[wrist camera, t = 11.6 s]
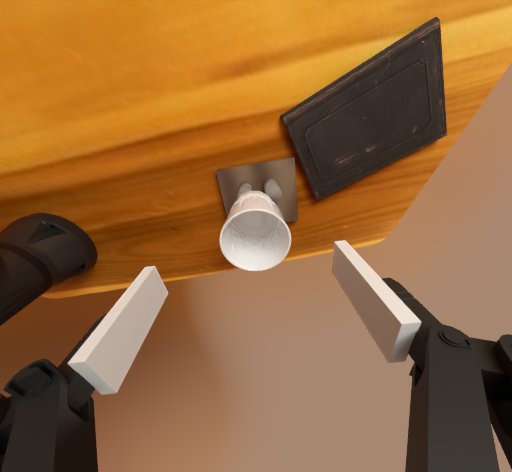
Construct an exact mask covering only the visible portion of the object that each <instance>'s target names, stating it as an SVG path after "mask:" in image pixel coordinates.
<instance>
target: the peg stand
mask: <svg viewBox="0 0 512 472" xmlns="http://www.w3.org/2000/svg"><path fill="white" fill-rule="evenodd" d="M216 174H217V178H218V182H219V186H220V190H221V194H222V198H223V202H224V207H225V211H226V215H227V216H228V214H229V212H230V210H231V208H232V206H233V205H234V202H235V201H236V200H237V199H238V197H239V196H240V195H241V194H244V193H246V192H248V191H261V192H263V193H265V194H267V195H269V196H270V198H271V199H272V201H273V202H274V203H275V204H276V206H277V208H278V209H279V211H280V213H281V215H282V217H283V219H284V220H285V222H286V223H287V222H293V221H298V212H297V193H296V174H295V158H294V157H290V158H284V159H278V160H272V161H266V162H260V163H254V164H248V165H242V166H236V167H230V168H224V169H218V170H216Z"/></svg>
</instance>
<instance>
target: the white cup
mask: <svg viewBox="0 0 512 472" xmlns="http://www.w3.org/2000/svg"><path fill="white" fill-rule="evenodd" d="M219 241H220V248H221V251H222V253H223V255H224V256H225V258H226V259H227V260H228V261H229V262H230V263H231V264H233V265H234V266H236V267H238V268H240V269H243V270H247V271H263V270H267V269H270V268H272V267H274V266H276V265H277V264H279V263H280V262H281V261H282V260H283V259H284V258H285V257H286V255H287V254H288V252H289V249H290V246H291V234H290V231H289V228H288V226H287V224H286V222H285V220H284V219H283V217H282V215H281V213H280V211H279V209H278V208H277V206H276V204H275V203H274V202H273V201H272V199H271V198H270V196H269V195H267V194H265V193H263V192H261V191H248V192H246V193H244V194H241V195H240V196H239V197H238V199H237V200H236V201H235V202H234V205H233V206H232V208H231V210H230V212H229V214H228V216H227V219H226V221H225V223H224V226H223V228H222V230H221V233H220V239H219Z"/></svg>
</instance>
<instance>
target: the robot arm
mask: <svg viewBox="0 0 512 472" xmlns="http://www.w3.org/2000/svg"><path fill="white" fill-rule="evenodd" d="M96 258H97V253H96V249H95V246H94V244H93V242H92V241H91V239H90V238H89V237H88V235H87V234H86V233H85V232H84V231H83V230H82V229H80V228H79V227H78V226H76V225H75V224H73V223H72V222H70V221H68V220H66V219H64V218H62V217H59V216H56V215H52V214H46V213H36V214H31V215H28V216H25V217H23V218H20V219H18V220H16V221H14V222H13V223H11V224H10V225H9V226H8V227H6V228H5V229H4V230H3V231H1V232H0V326H1V325H2V324H3V323H5V322H6V321H7V320H9V319H10V318H11V317H13V316H14V315H15V314H17V313H18V312H19V311H21V310H22V309H23V308H25V307H26V306H27V305H28V304H30V303H31V302H33V301H34V300H35V299H37V298H38V297H39V296H41V295H42V294H43V293H44V292H46V291H47V290H49V289H50V288H51V287H54V286H56V285H59V284H61V283H64V282H66V281H69V280H71V279H74V278H76V277H79V276H81V275H82V274H84V273H85V272H87V271H88V270H89V269H90V268H91V267H92V266H93V265H94V264H95V262H96ZM332 273H333V274H334V276H335V277H336V279H337V281H338V282H339V284H340V285H341V287H342V289H343V290H344V292H345V293H346V295H347V296H348V298H349V300H350V302H351V303H352V305H353V307H354V308H355V310H356V311H357V313H358V315H359V316H360V318H361V320H362V321H363V323H364V324H365V326H366V328H367V329H368V331H369V332H370V334H371V336H372V337H373V339H374V340H375V342H376V344H377V345H378V347H379V349H380V350H381V352H382V354H383V355H384V357H385V358H386V360H387V362H388V363H393V362H402V361H405V360H406V358H407V356H408V354H409V355H410V356H411V358H412V359H413V360H414V362H415V363H414V365H413V367H412V369H411V371H410V374H409V375H411V376H412V389H411V403H410V416H409V429H408V444H407V457H406V471H405V472H500V470H499V465H498V460H497V454H496V450H495V444H494V438H493V433H492V428H491V424H492V426H493V429H494V431H495V433H496V435H497V438H498V440H499V442H500V444H501V446H502V449H503V451H504V453H505V455H506V458H507V460H508V462H509V464H510V466H511V469H512V335H508V334H507V335H503V336H501V337H500V338H499V340H498V341H497V342H494V341H488V340H482V339H476V338H470V337H468V336H467V335H465V334H464V333H463V332H461V331H460V330H457V329H455V328H453V327H450V326H446V325H443V324H441V323H440V322H439V321H438V320H437V319H436V318H435V317H434V316H433V315H432V314H431V313H430V312H429V311H428V310H427V309H426V308H425V307H424V306H423V305H422V304H420V302H418V301H417V300H416V299H414V297H413V296H412V295H411V294H410V293H409V292H408V291H407V290H406V289H405V288H404V287H403V286H402V285H401V284H400V283H398V282H396V281H395V280H393V279H391V278H384V279H381V278H380V277H379V276H378V275H377V274H376V273H375V272H374V271H373V269H371V267H370V266H369V265H368V264H367V263H366V262H365V261H364V260H363V259H362V258H361V257H360V256H359V255H358V253H357V252H356V251H355V250H354V249H353V248H352V247H351V246H350V245H349V244H348V243H347V242H346V241H345V240H343V241H335V242H334V254H333V268H332ZM167 295H168V291H167V289H166V287H165V285H164V283H163V281H162V279H161V277H160V275H159V273H158V271H157V269H156V267H155V266H151V267H145V268H144V269H143V270H142V272H141V273H140V274H139V275H138V277H137V278H136V279H135V280H134V282H133V283H132V284H131V285H130V286H129V288H128V289H127V290H126V291H125V293H124V294H123V295H122V296H121V298H120V299H119V300H118V301H117V303H116V304H115V305H114V306H113V308H112V309H111V310H110V311H109V313H108V314H105V315H104V316H102V317H101V318H100V319H99V320H98V321H96V322H95V323H94V325H93V326H92V327H91V328H90V330H89V331H88V333H86V334H85V336H84V337H83V338H82V340H80V341H79V343H78V344H77V345H76V346H75V347H74V349H73V350H72V351H71V352H70V354H69V355H68V356H67V357H66V358H65V359H64V361H63V362H62V363H61V364H60V365H59V367H58V368H57V367H56V366H55V365H54V364H52V363H51V362H50V361H49V360H47V359H41V360H37V361H35V362H33V363H31V364H29V365H28V366H26V367H25V368H23V369H22V370H20V371H19V372H18V373H17V374H16V375H15V376H13V377H12V379H11V380H10V381H9V382H8V383H7V385H6V386H5V388H4V391H6V392H8V393H9V394H11V395H12V396H10V397H8V398H7V397H5V396H4V395H2V394H0V472H98V464H97V448H96V432H95V417H94V402H93V399H92V397H91V394H92V393H93V391H94V390H95V389H96V390H97V391H98V392H99V393H100V394H101V395H103V394H113V393H117V391H118V389H119V387H120V385H121V384H122V381H123V380H124V378H125V376H126V374H127V372H128V370H129V368H130V366H131V364H132V362H133V360H134V359H135V357H136V354H137V353H138V351H139V349H140V347H141V345H142V343H143V341H144V339H145V337H146V335H147V333H148V332H149V330H150V328H151V326H152V324H153V322H154V320H155V318H156V316H157V314H158V312H159V310H160V308H161V307H162V305H163V303H164V301H165V299H166V297H167Z"/></svg>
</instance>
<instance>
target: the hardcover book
mask: <svg viewBox="0 0 512 472" xmlns="http://www.w3.org/2000/svg"><path fill="white" fill-rule="evenodd" d="M281 117H282V119H283V121H284V124H285V126H286V128H287V131H288V133H289V136H290V138H291V140H292V143H293V145H294V148H295V150H296V152H297V155H298V157H299V160H300V162H301V164H302V167H303V169H304V172H305V174H306V177H307V179H308V181H309V184H310V186H311V189H312V191H313V193H314V196H315V198H316V201H318V200H320V199H322V198H324V197H326V196H328V195H330V194H332V193H334V192H336V191H338V190H340V189H342V188H344V187H346V186H348V185H350V184H352V183H354V182H356V181H358V180H360V179H362V178H364V177H366V176H368V175H370V174H372V173H374V172H376V171H378V170H379V169H381V168H383V167H385V166H387V165H389V164H391V163H393V162H395V161H397V160H399V159H401V158H403V157H405V156H407V155H409V154H411V153H413V152H415V151H417V150H419V149H421V148H423V147H425V146H427V145H429V144H431V143H433V142H435V141H437V140H439V139H440V138H442V137H444V136H446V135H447V127H446V111H445V95H444V78H443V62H442V46H441V30H440V20H439V18H437V17H435V18H433V19H431V20H430V21H428V22H426V23H425V24H423V25H422V26H420V27H419V28H417V29H415V30H414V31H412V32H411V33H409V34H408V35H406V36H404V37H403V38H401V39H400V40H398V41H397V42H395V43H393V44H392V45H390V46H389V47H387V48H386V49H384V50H383V51H381V52H379V53H378V54H376V55H375V56H373V57H372V58H370V59H368V60H367V61H365V62H364V63H362V64H361V65H359V66H357V67H356V68H354V69H353V70H351V71H350V72H348V73H346V74H345V75H343V76H342V77H340V78H339V79H337V80H336V81H334V82H332V83H331V84H329V85H328V86H326V87H325V88H323V89H321V90H320V91H318V92H317V93H315V94H314V95H312V96H310V97H309V98H307V99H306V100H304V101H303V102H301V103H299V104H298V105H296V106H295V107H293V108H292V109H290V110H289V111H287V112H285V113H284V114H282V115H281V116H280V118H281Z"/></svg>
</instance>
